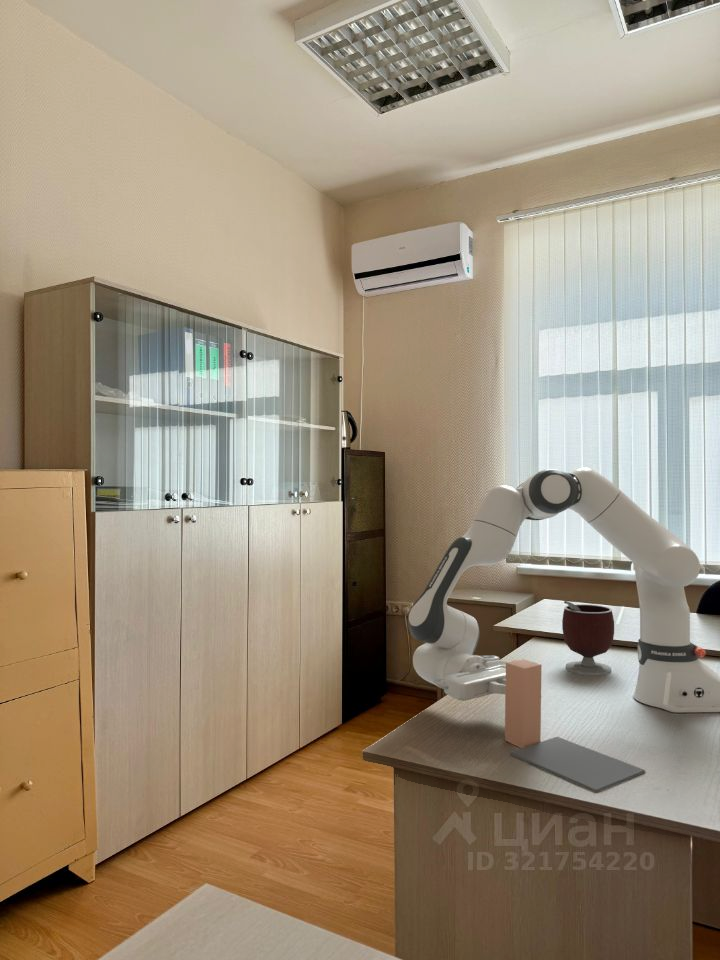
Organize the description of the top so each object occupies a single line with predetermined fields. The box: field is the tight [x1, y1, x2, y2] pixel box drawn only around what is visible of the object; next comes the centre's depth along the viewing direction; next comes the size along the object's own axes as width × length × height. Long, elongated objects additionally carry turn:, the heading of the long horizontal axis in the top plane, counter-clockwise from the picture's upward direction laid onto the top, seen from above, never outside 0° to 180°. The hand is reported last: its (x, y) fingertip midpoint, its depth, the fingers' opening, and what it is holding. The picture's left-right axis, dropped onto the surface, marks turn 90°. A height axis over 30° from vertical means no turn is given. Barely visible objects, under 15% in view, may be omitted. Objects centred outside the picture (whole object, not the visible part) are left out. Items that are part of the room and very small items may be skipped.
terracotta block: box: [504, 658, 543, 748], centre depth 141 cm, size 5×5×16 cm
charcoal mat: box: [508, 736, 646, 793], centre depth 130 cm, size 20×14×1 cm
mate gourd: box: [561, 600, 615, 676], centre depth 194 cm, size 16×14×20 cm
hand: (513, 690), depth 143 cm, fingers closed
